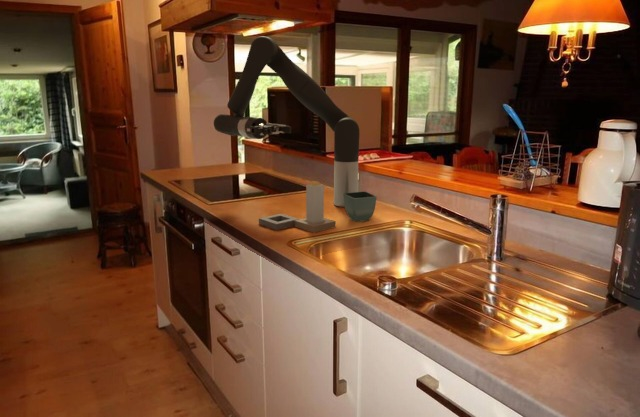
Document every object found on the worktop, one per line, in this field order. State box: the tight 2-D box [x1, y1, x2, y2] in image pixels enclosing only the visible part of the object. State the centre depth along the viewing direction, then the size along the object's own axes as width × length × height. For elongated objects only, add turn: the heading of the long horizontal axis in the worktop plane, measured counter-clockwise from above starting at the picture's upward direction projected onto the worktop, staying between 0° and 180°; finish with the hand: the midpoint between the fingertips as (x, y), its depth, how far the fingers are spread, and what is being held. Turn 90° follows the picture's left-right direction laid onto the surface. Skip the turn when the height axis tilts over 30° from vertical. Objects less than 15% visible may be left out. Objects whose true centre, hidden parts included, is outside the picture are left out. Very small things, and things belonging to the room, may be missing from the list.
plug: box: [305, 180, 325, 224], centre depth 157 cm, size 4×4×15 cm
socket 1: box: [258, 213, 300, 231], centre depth 161 cm, size 10×10×2 cm
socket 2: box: [293, 217, 337, 233], centre depth 158 cm, size 10×10×2 cm
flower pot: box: [343, 190, 378, 223], centre depth 166 cm, size 9×9×9 cm
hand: (280, 130), depth 163 cm, fingers open, 8 cm apart
